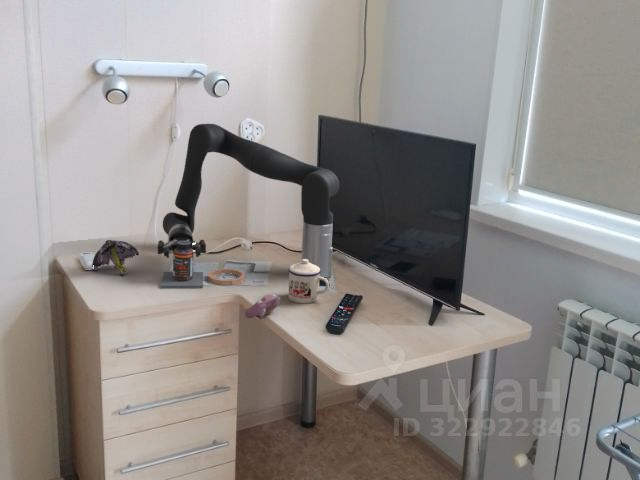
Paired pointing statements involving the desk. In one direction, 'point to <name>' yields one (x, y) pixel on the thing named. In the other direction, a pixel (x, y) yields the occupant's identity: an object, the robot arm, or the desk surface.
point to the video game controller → (263, 306)
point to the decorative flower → (114, 254)
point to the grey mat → (172, 283)
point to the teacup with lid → (305, 282)
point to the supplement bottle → (183, 261)
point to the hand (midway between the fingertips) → (182, 254)
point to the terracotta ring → (226, 282)
